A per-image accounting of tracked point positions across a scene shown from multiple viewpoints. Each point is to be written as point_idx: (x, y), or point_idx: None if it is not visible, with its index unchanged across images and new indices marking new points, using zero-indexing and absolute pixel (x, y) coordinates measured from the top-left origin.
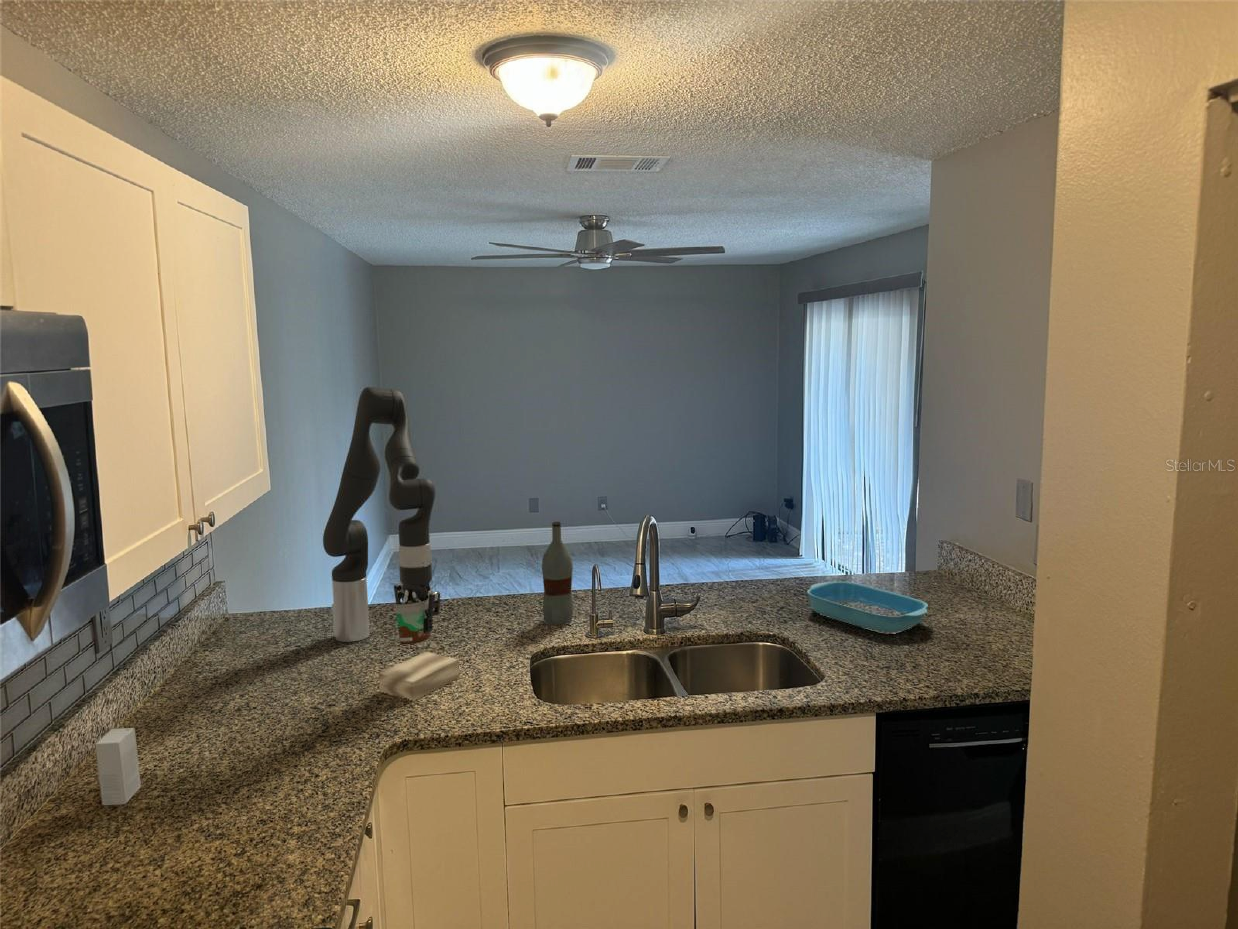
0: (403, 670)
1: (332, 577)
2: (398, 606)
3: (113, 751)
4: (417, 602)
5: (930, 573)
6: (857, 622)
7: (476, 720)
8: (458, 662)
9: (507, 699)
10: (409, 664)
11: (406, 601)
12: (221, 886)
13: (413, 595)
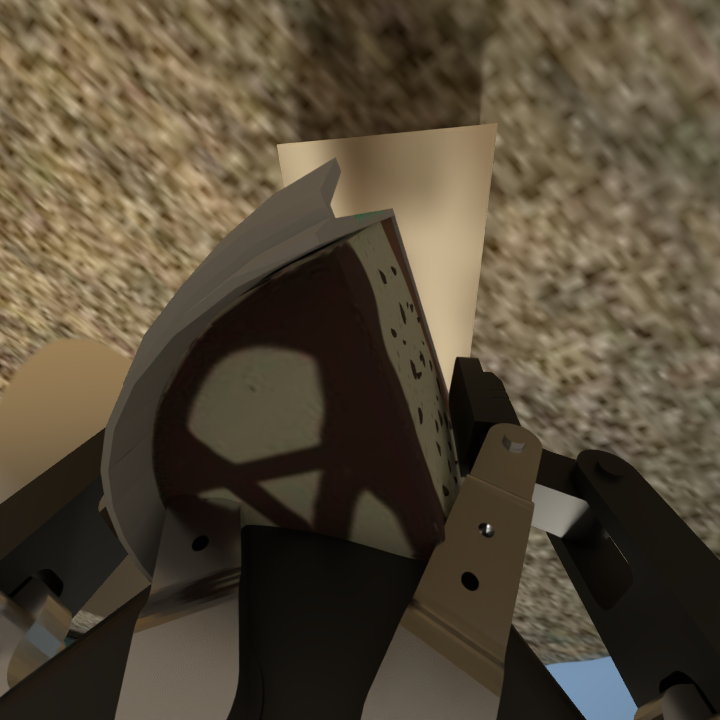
0: (411, 220)
1: None
2: (262, 253)
3: None
4: (210, 526)
5: None
6: (65, 647)
7: (45, 162)
8: None
9: (127, 316)
10: (434, 281)
11: (429, 526)
12: None
13: (211, 658)
